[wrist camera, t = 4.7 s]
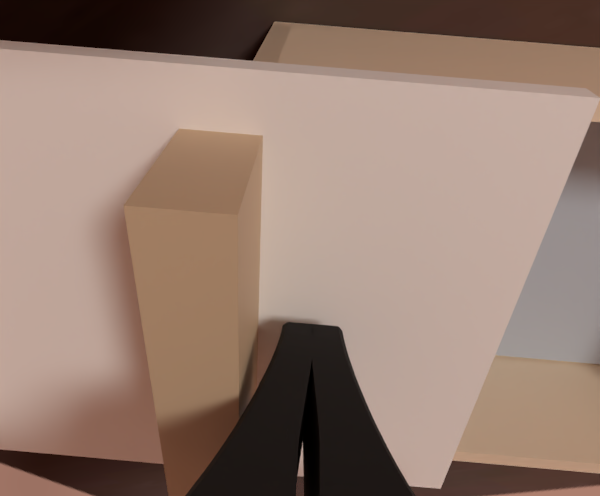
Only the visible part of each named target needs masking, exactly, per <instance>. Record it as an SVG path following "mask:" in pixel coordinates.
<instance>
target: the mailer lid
mask: <svg viewBox="0 0 600 496" xmlns="http://www.w3.org/2000/svg"><path fill="white" fill-rule="evenodd" d="M599 101H600V97H598V96H597V95H595V94H594V93H592V92H591V91H589V90H588V89H586V88H578V87H566V86H554V85H541V84H529V83H517V82H505V81H493V80H480V79H468V78H456V77H444V76H432V75H419V74H407V73H395V72H383V71H371V70H358V69H346V68H334V67H322V66H309V65H297V64H285V63H273V62H261V61H248V60H236V59H224V58H212V57H200V56H187V55H175V54H163V53H151V52H139V51H126V50H114V49H102V48H90V47H78V46H65V45H53V44H41V43H29V42H17V41H4V40H0V449H2V450H13V451H24V452H35V453H46V454H58V455H69V456H80V457H91V458H102V459H114V460H125V461H136V462H147V463H158V464H164V469H165V476H166V482H167V489H168V495H169V496H185V495H186V494H187V493H188V491H189V490H190V489H191V487H192V486H193V485H194V484H195V482H196V481H197V480H198V478H199V477H200V476H201V474H202V473H203V472H204V471H205V469H206V468H207V467H208V465H209V464H210V462H211V461H212V460H213V458H214V457H215V455H216V454H217V452H218V451H219V450H220V448H221V447H222V445H223V444H224V442H225V441H226V439H227V438H228V436H229V435H230V433H231V432H232V430H233V429H234V427H235V425H236V424H237V422H238V420H239V419H240V417H241V415H242V414H243V412H244V410H245V409H246V407H247V405H248V404H249V402H250V400H251V399H252V397H253V395H254V393H255V391H256V389H257V387H258V385H259V383H260V381H261V379H262V377H263V376H264V374H265V372H266V370H267V368H268V365H269V363H270V361H271V359H272V356H273V354H274V352H275V349H276V347H277V344H278V341H279V338H280V335H281V331H282V326H283V325H284V324H285V323H287V322H296V323H307V324H319V325H330V326H338V327H339V328H340V329H341V330H342V332H343V337H344V341H345V345H346V349H347V352H348V356H349V359H350V362H351V365H352V368H353V370H354V373H355V376H356V379H357V381H358V384H359V386H360V389H361V391H362V394H363V396H364V398H365V401H366V403H367V405H368V408H369V410H370V412H371V414H372V417H373V419H374V421H375V423H376V425H377V427H378V429H379V431H380V433H381V435H382V437H383V439H384V441H385V443H386V445H387V447H388V449H389V451H390V453H391V455H392V457H393V458H394V460H395V462H396V464H397V466H398V467H399V469H400V471H401V473H402V474H403V476H404V478H405V479H406V481H407V483H408V485H409V486H416V487H427V488H438V489H441V486H442V484H443V481H444V479H445V477H446V474H447V472H448V469H449V467H450V464H451V462H452V459H453V457H454V455H455V452H456V450H457V447H458V445H459V442H460V440H461V437H462V435H463V433H464V430H465V428H466V425H467V423H468V420H469V418H470V416H471V413H472V411H473V408H474V406H475V403H476V401H477V398H478V396H479V394H480V391H481V389H482V386H483V384H484V381H485V379H486V376H487V374H488V372H489V369H490V367H491V364H492V362H493V359H494V357H495V355H496V352H497V350H498V347H499V345H500V342H501V340H502V337H503V335H504V333H505V330H506V328H507V325H508V323H509V320H510V318H511V315H512V313H513V311H514V308H515V306H516V303H517V301H518V298H519V296H520V294H521V291H522V289H523V286H524V284H525V281H526V279H527V276H528V274H529V272H530V269H531V267H532V264H533V262H534V259H535V257H536V254H537V252H538V250H539V247H540V245H541V242H542V240H543V237H544V235H545V232H546V230H547V228H548V225H549V223H550V220H551V218H552V215H553V213H554V211H555V208H556V206H557V203H558V201H559V198H560V196H561V193H562V191H563V189H564V186H565V184H566V181H567V179H568V176H569V174H570V171H571V169H572V167H573V164H574V162H575V159H576V157H577V154H578V152H579V150H580V147H581V145H582V142H583V140H584V137H585V135H586V132H587V130H588V128H589V125H590V123H591V120H592V118H593V115H594V113H595V110H596V108H597V106H598V103H599ZM297 476H304V470H303V443H302V449H301V456H300V462H299V469H298V475H297Z"/></svg>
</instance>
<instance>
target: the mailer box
mask: <svg viewBox="0 0 600 496" xmlns="http://www.w3.org/2000/svg"><path fill="white" fill-rule="evenodd" d="M253 61H261V62H273V63H285V64H297V65H309V66H322V67H334V68H346V69H358V70H371V71H383V72H395V73H407V74H419V75H432V76H444V77H456V78H468V79H480V80H493V81H505V82H517V83H529V84H541V85H554V86H566V87H578V88H586V89H588V90H589V91H591V92H592V93H594V94H595V95H597V96H598V97H600V48H594V47H582V46H570V45H557V44H545V43H533V42H520V41H508V40H496V39H483V38H471V37H459V36H447V35H434V34H422V33H410V32H397V31H385V30H373V29H360V28H348V27H336V26H323V25H311V24H299V23H286V22H274V23H273V25H272V27H271V29H270V30H269V32H268V34H267V36H266V38H265V40H264V41H263V43H262V45H261V47H260V49H259V50H258V52H257V54H256V56H255V58H254V59H253ZM452 460H454V461H465V462H476V463H488V464H499V465H510V466H521V467H533V468H544V469H555V470H566V471H578V472H589V473H600V101H599V103H598V106H597V108H596V110H595V113H594V115H593V118H592V120H591V123H590V125H589V128H588V130H587V132H586V135H585V137H584V140H583V142H582V145H581V147H580V150H579V152H578V154H577V157H576V159H575V162H574V164H573V167H572V169H571V171H570V174H569V176H568V179H567V181H566V184H565V186H564V189H563V191H562V193H561V196H560V198H559V201H558V203H557V206H556V208H555V211H554V213H553V215H552V218H551V220H550V223H549V225H548V228H547V230H546V232H545V235H544V237H543V240H542V242H541V245H540V247H539V250H538V252H537V254H536V257H535V259H534V262H533V264H532V267H531V269H530V272H529V274H528V276H527V279H526V281H525V284H524V286H523V289H522V291H521V294H520V296H519V298H518V301H517V303H516V306H515V308H514V311H513V313H512V315H511V318H510V320H509V323H508V325H507V328H506V330H505V333H504V335H503V337H502V340H501V342H500V345H499V347H498V350H497V352H496V355H495V357H494V359H493V362H492V364H491V367H490V369H489V372H488V374H487V376H486V379H485V381H484V384H483V386H482V389H481V391H480V394H479V396H478V398H477V401H476V403H475V406H474V408H473V411H472V413H471V416H470V418H469V420H468V423H467V425H466V428H465V430H464V433H463V435H462V437H461V440H460V442H459V445H458V447H457V450H456V452H455V455H454V457H453V459H452Z"/></svg>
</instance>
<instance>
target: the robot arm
mask: <svg viewBox="0 0 600 496" xmlns="http://www.w3.org/2000/svg"><path fill="white" fill-rule="evenodd" d="M302 443H303V470H304V496H415V494H414V493H413V491H412V490H411V488H410V486H409V485H408V483H407V481H406V479H405V478H404V476H403V474H402V473H401V471H400V469H399V467H398V466H397V464H396V462H395V460H394V458H393V457H392V455H391V453H390V451H389V449H388V447H387V445H386V443H385V441H384V439H383V437H382V435H381V433H380V431H379V429H378V427H377V425H376V423H375V421H374V419H373V417H372V414H371V412H370V410H369V408H368V405H367V403H366V401H365V398H364V396H363V394H362V391H361V389H360V386H359V384H358V381H357V379H356V376H355V373H354V370H353V368H352V365H351V362H350V359H349V356H348V352H347V349H346V345H345V341H344V337H343V332H342V330H341V329H340V328H339V327H338V326H330V325H319V324H307V323H296V322H287V323H285V324H284V325H283V326H282V331H281V335H280V338H279V341H278V344H277V347H276V349H275V352H274V354H273V356H272V359H271V361H270V363H269V365H268V368H267V370H266V372H265V374H264V376H263V377H262V379H261V381H260V383H259V385H258V387H257V389H256V391H255V393H254V395H253V397H252V399H251V400H250V402H249V404H248V405H247V407H246V409H245V410H244V412H243V414H242V415H241V417H240V419H239V420H238V422H237V424H236V425H235V427H234V429H233V430H232V432H231V433H230V435H229V436H228V438H227V439H226V441H225V442H224V444H223V445H222V447H221V448H220V450H219V451H218V452H217V454H216V455H215V457H214V458H213V460H212V461H211V462H210V464H209V465H208V467H207V468H206V469H205V471H204V472H203V473H202V474H201V476H200V477H199V478H198V480H197V481H196V482H195V484H194V485H193V486H192V487H191V489H190V490H189V491H188V493H187V494H186V495H185V496H296V482H297V475H298V469H299V462H300V456H301V449H302Z"/></svg>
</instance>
